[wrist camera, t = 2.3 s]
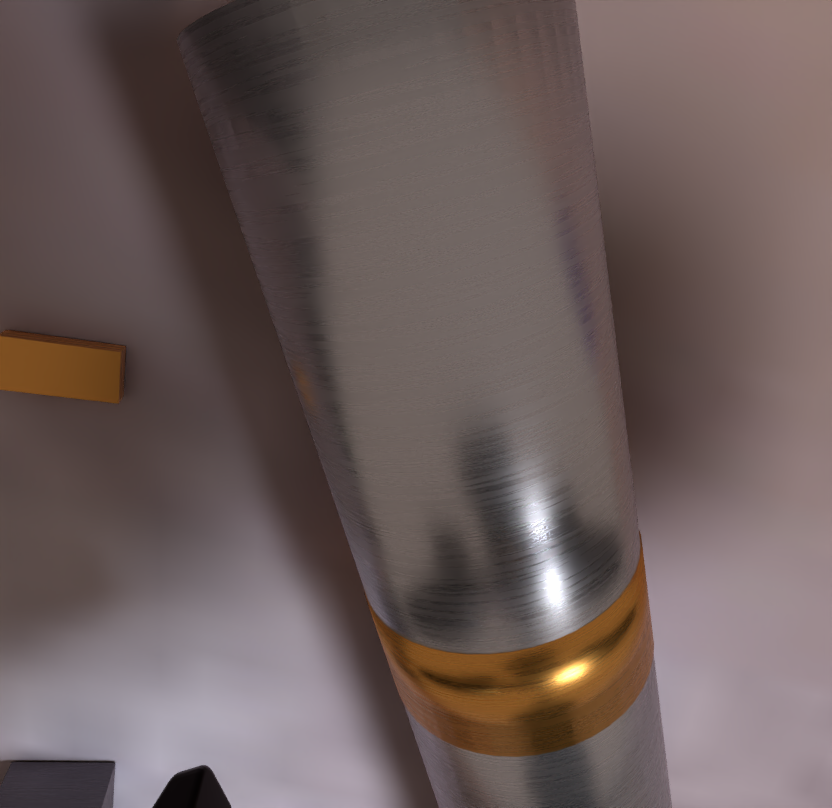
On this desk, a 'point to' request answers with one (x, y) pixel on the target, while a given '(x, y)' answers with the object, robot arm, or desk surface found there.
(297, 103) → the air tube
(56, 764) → the collar stand
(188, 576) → the desk surface
